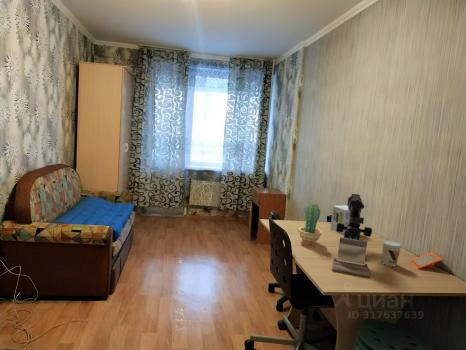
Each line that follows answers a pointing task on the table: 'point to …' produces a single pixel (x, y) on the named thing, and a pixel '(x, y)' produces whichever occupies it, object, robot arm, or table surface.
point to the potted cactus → (310, 225)
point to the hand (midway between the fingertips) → (352, 243)
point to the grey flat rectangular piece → (352, 250)
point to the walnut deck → (350, 268)
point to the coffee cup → (390, 252)
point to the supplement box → (340, 216)
